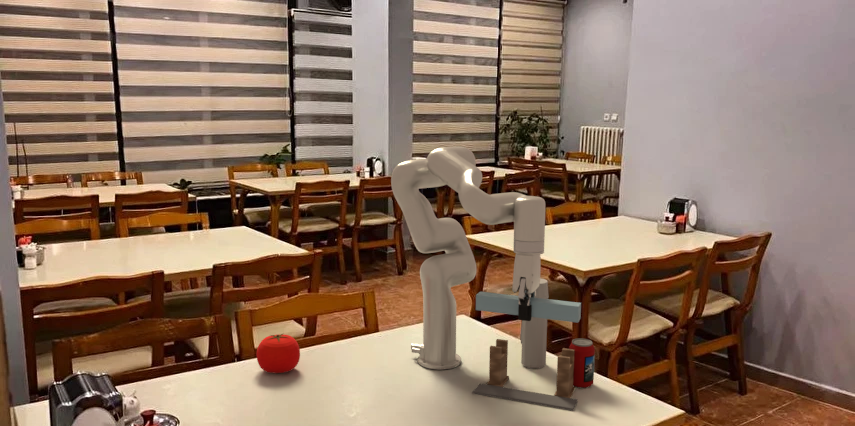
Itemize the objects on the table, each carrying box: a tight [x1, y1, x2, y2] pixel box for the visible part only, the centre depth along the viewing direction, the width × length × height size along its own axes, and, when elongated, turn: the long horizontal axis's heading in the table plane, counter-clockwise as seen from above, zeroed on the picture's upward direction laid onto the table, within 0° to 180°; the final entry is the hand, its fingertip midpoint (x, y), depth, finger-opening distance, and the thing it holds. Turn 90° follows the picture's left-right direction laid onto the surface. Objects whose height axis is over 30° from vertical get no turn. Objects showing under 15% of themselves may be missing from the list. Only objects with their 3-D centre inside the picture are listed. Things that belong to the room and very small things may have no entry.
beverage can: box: [568, 337, 596, 389], centre depth 184 cm, size 7×7×12 cm
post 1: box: [486, 338, 510, 387], centre depth 185 cm, size 4×7×11 cm, turn 157°
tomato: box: [255, 332, 301, 374], centre depth 192 cm, size 12×12×10 cm
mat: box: [472, 382, 578, 412], centre depth 176 cm, size 26×6×1 cm, turn 67°
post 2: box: [553, 347, 576, 398], centre depth 178 cm, size 4×7×11 cm, turn 157°
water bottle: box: [519, 277, 550, 370], centre depth 197 cm, size 9×8×25 cm
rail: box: [475, 291, 582, 323], centre depth 173 cm, size 26×4×4 cm, turn 67°
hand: (526, 317), depth 173 cm, fingers closed on rail, 3 cm apart
